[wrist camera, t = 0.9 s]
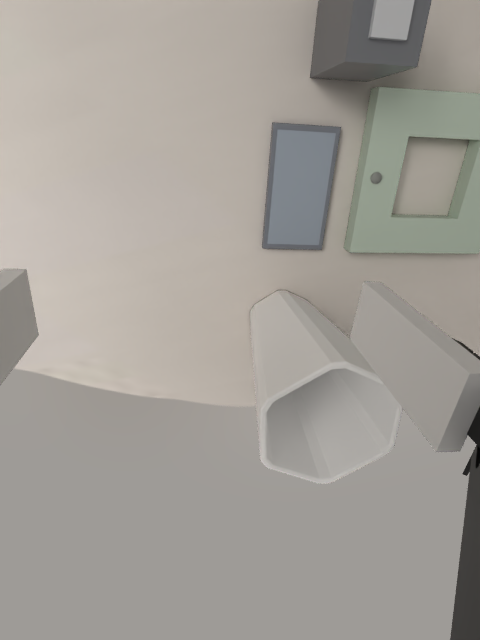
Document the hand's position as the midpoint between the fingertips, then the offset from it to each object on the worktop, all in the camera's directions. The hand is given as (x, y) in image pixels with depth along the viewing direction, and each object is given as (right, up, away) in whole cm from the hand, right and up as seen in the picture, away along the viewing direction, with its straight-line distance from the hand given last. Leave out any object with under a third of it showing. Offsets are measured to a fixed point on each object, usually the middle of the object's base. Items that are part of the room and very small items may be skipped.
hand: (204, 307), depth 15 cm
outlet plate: (+19, +13, +21) cm, 32 cm away
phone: (+7, +12, +21) cm, 25 cm away
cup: (+6, 0, +26) cm, 27 cm away
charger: (+10, +22, +15) cm, 29 cm away
